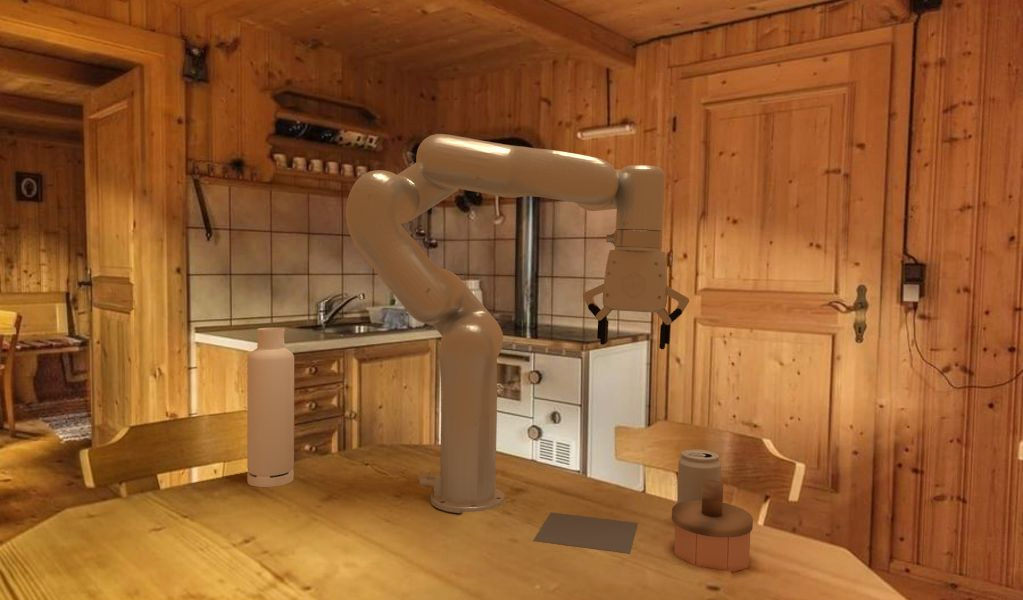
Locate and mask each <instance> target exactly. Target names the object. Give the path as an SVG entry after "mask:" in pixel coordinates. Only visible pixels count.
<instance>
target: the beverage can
mask: <svg viewBox="0 0 1023 600" xmlns="http://www.w3.org/2000/svg"><path fill="white" fill-rule="evenodd" d="M680 455H681V456H680V458H679V459H678V463H677V464H678V467H677V468H678V469H677V470H678V471H677V473H678V474H677V498H676V499H677V500H676V504H678V503H680V502H684V501H692V500H702V488H703V481H704V480H716V481H720V482H721V479H722V478H721V475H722V474H721V473H722V464H721V461H720V460H719V458H720V456H719V454H718V453H716V452H713V451H711V450H710V451H709V450H705V449H686V450H682V451H681V453H680Z"/></svg>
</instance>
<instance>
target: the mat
mask: <svg viewBox="0 0 1023 600" xmlns="http://www.w3.org/2000/svg"><path fill="white" fill-rule="evenodd" d="M638 524H639V522H634V521H627V520H625V521H624V520H619V519H618V520H617V519H610V518H609V519H608V518H603V517H602V518H599V517H592V516H585V515H584V516H583V515H574V514H568V513H558V512H550V513H549V515H548V516H547V517H546V519H545V521H544V523H543V524H542V525H541V527H540V529H539V531H538V532H537V533H536V535H535V537H534V539H533V541H532V542H538V543H546V544H553V545H559V546H560V545H561V546H567V547H569V546H570V547H574V548H575V547H576V548H582V549H590V550H598V551H606V552H614V553H620V554H628V555H630V554H631V551H632V547H633V543H634V540H635V536H636V531H637V527H638Z"/></svg>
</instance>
